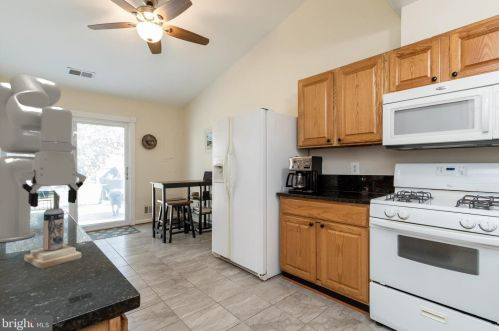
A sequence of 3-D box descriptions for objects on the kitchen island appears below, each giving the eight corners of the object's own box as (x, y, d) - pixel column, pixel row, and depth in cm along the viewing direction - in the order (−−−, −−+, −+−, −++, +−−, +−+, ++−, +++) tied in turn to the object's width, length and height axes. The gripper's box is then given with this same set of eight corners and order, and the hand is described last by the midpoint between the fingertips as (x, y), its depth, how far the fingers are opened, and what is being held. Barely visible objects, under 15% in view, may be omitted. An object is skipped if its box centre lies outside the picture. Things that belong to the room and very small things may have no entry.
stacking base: (23, 260, 73) (24, 250, 73) (62, 250, 82) (62, 241, 82) (41, 269, 67) (41, 258, 67) (81, 257, 76) (81, 248, 76)
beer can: (51, 252, 72) (52, 211, 72) (38, 250, 73) (39, 210, 73) (67, 247, 77) (67, 208, 77) (54, 245, 78) (55, 207, 78)
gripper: (80, 150, 84) (78, 200, 85) (13, 146, 69) (11, 206, 70) (92, 150, 81) (90, 202, 81) (24, 146, 66) (21, 210, 66)
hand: (53, 204), depth 75 cm, fingers open, 9 cm apart
